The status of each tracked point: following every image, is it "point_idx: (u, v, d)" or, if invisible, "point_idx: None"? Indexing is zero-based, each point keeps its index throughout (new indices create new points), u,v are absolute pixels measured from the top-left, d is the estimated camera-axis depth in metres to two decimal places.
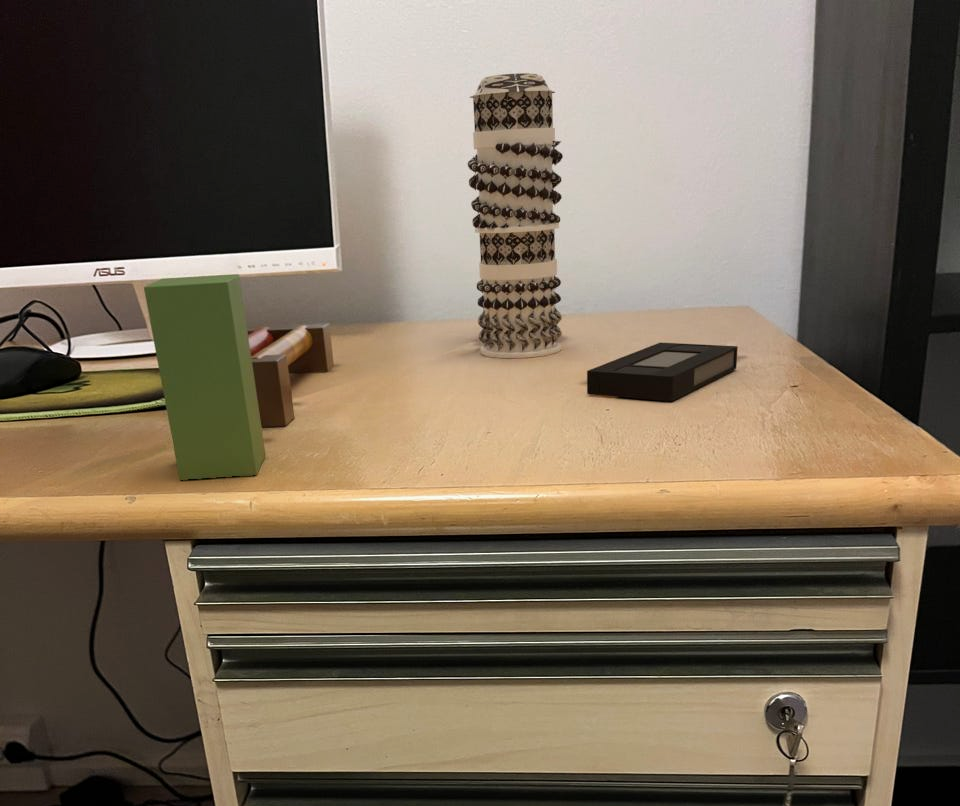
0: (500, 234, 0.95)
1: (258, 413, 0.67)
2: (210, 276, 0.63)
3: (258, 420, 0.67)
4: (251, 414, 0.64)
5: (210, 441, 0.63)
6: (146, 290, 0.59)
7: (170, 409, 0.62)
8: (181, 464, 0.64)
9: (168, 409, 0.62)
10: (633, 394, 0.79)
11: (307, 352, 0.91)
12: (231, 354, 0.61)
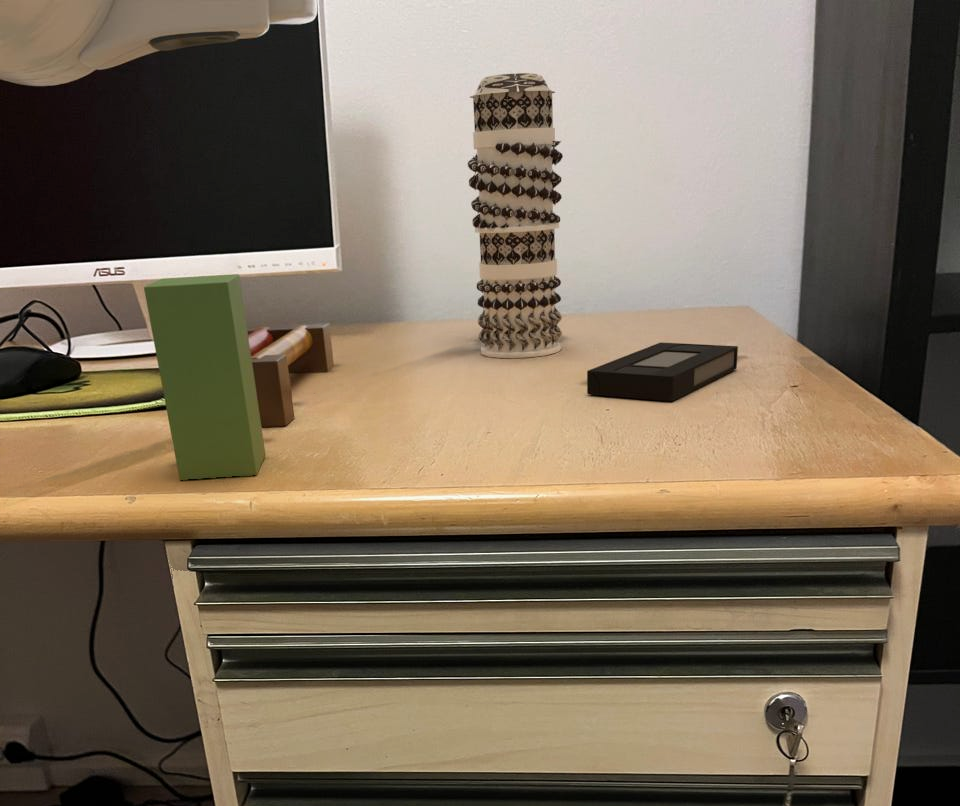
0: (500, 234, 0.95)
1: (258, 413, 0.67)
2: (210, 276, 0.63)
3: (258, 420, 0.67)
4: (251, 414, 0.64)
5: (210, 441, 0.63)
6: (146, 290, 0.59)
7: (170, 409, 0.62)
8: (181, 464, 0.64)
9: (168, 409, 0.62)
10: (633, 394, 0.79)
11: (307, 352, 0.91)
12: (231, 354, 0.61)
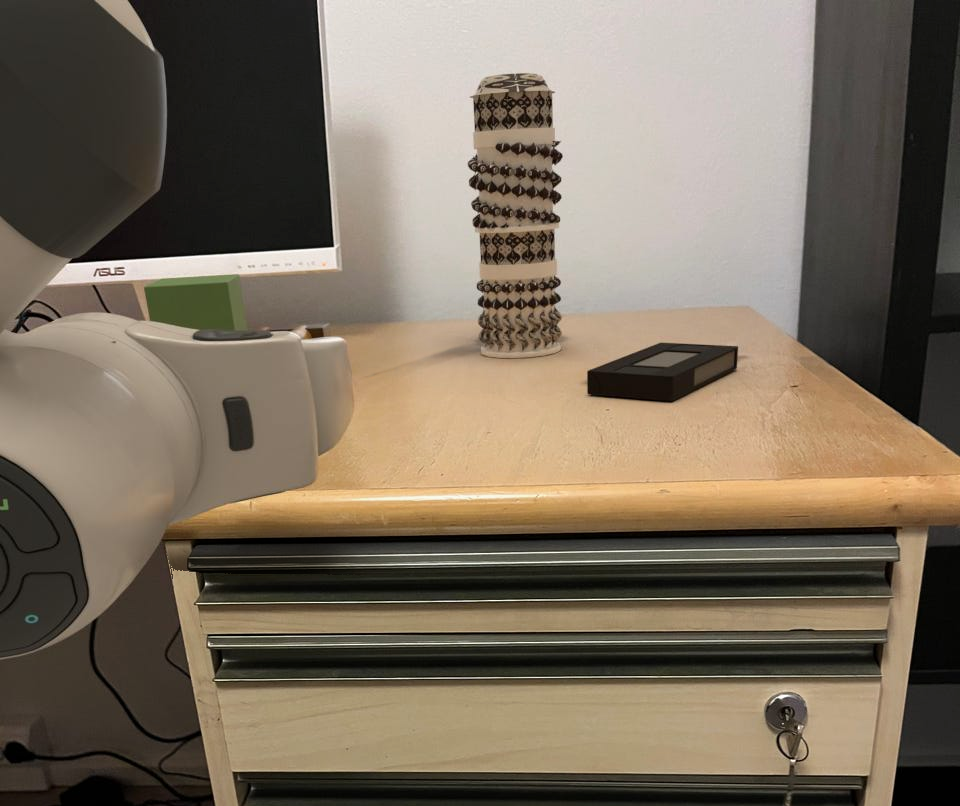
0: (500, 234, 0.95)
1: None
2: (210, 276, 0.63)
3: None
4: None
5: None
6: (146, 290, 0.59)
7: None
8: None
9: None
10: (633, 394, 0.79)
11: None
12: None
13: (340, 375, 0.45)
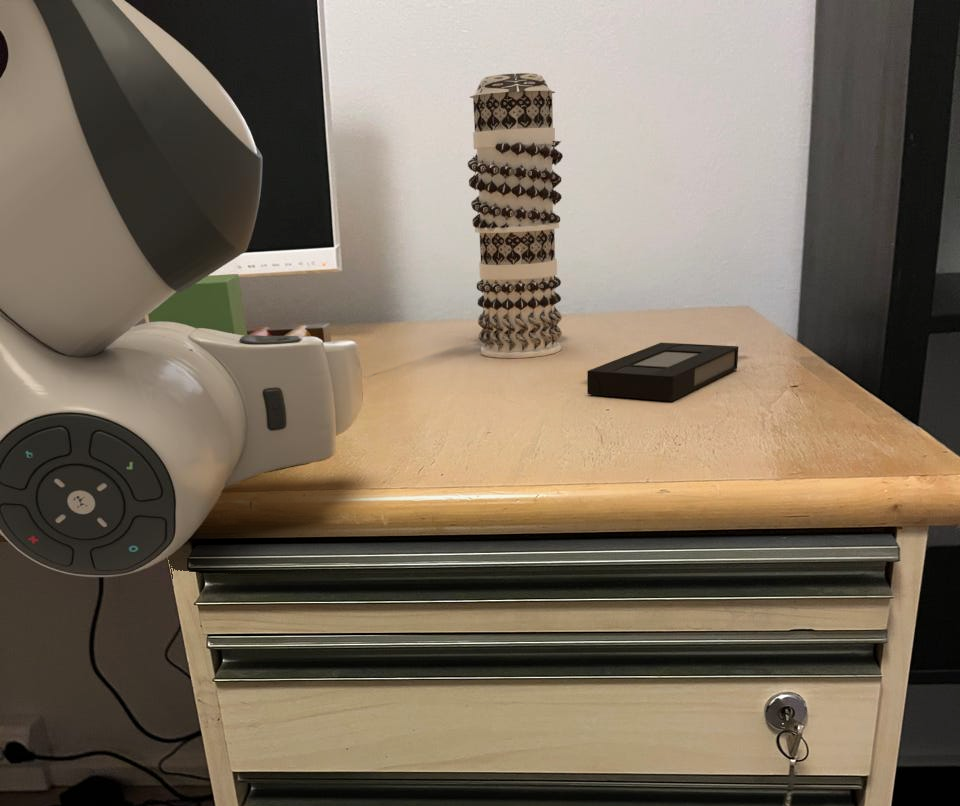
0: (500, 234, 0.95)
1: None
2: (209, 276, 0.63)
3: None
4: None
5: None
6: None
7: None
8: None
9: None
10: (633, 394, 0.79)
11: None
12: None
13: (353, 371, 0.57)
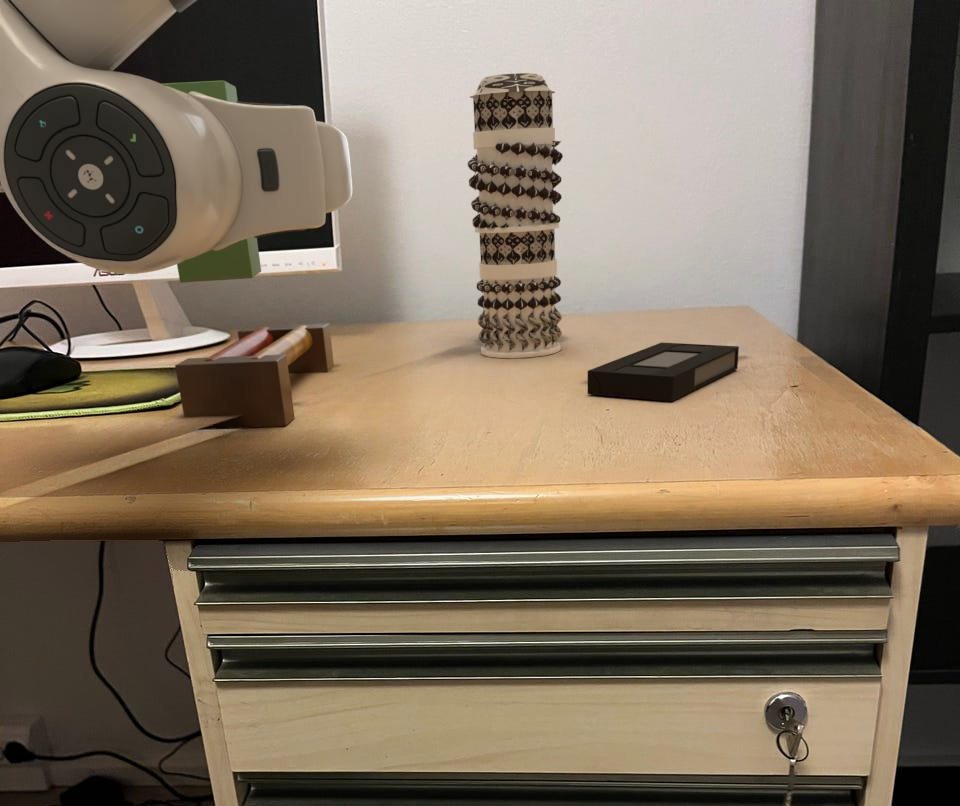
0: (500, 234, 0.95)
1: None
2: None
3: None
4: None
5: None
6: None
7: None
8: (181, 265, 0.68)
9: None
10: (633, 394, 0.79)
11: (307, 352, 0.91)
12: None
13: (342, 155, 0.61)
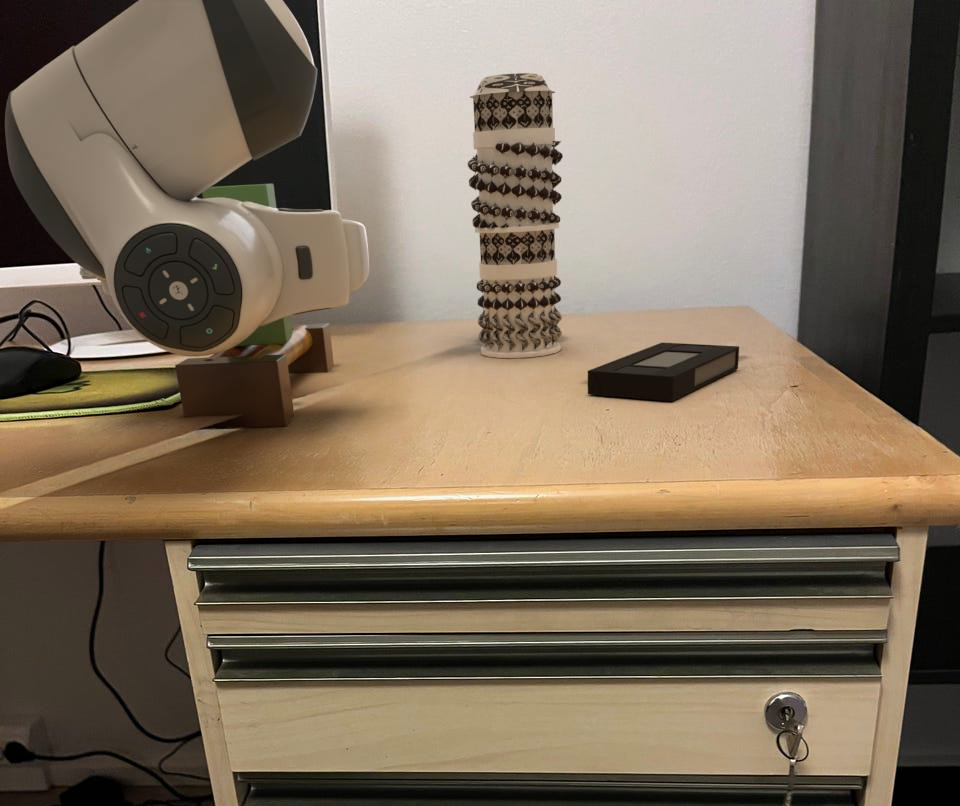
0: (500, 234, 0.95)
1: None
2: None
3: None
4: None
5: None
6: None
7: None
8: None
9: None
10: (633, 394, 0.79)
11: (307, 352, 0.91)
12: None
13: (362, 244, 0.74)
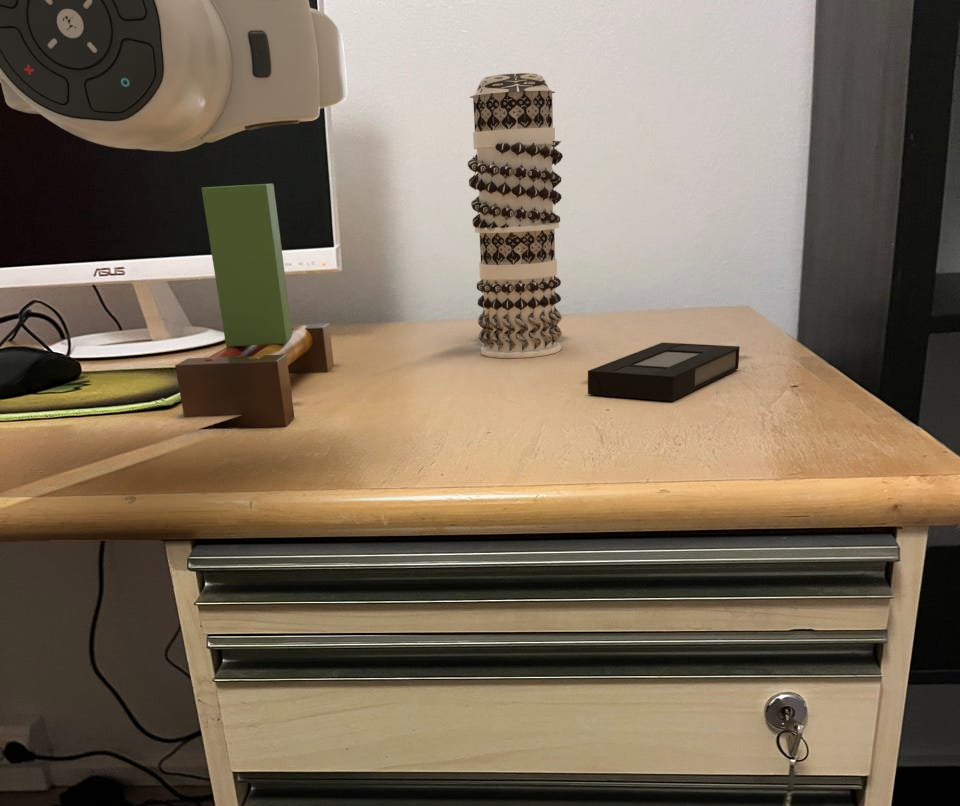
0: (500, 234, 0.95)
1: (287, 298, 0.84)
2: None
3: (287, 303, 0.84)
4: (282, 294, 0.81)
5: (251, 314, 0.81)
6: (203, 190, 0.76)
7: (220, 287, 0.79)
8: (227, 333, 0.81)
9: (218, 287, 0.79)
10: (633, 394, 0.79)
11: (307, 352, 0.91)
12: (268, 243, 0.78)
13: (337, 49, 0.58)
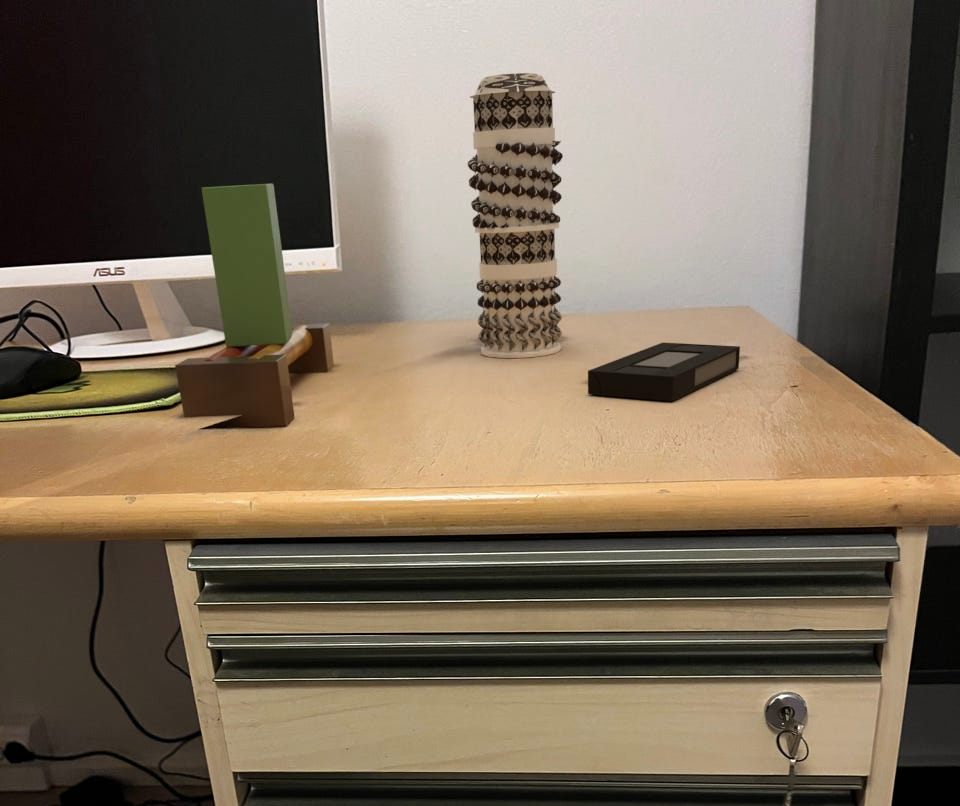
0: (500, 234, 0.95)
1: (287, 298, 0.84)
2: None
3: (287, 303, 0.84)
4: (282, 294, 0.81)
5: (251, 314, 0.81)
6: (203, 190, 0.76)
7: (220, 287, 0.79)
8: (227, 333, 0.81)
9: (218, 287, 0.79)
10: (634, 394, 0.79)
11: (307, 352, 0.91)
12: (268, 243, 0.78)
13: None
